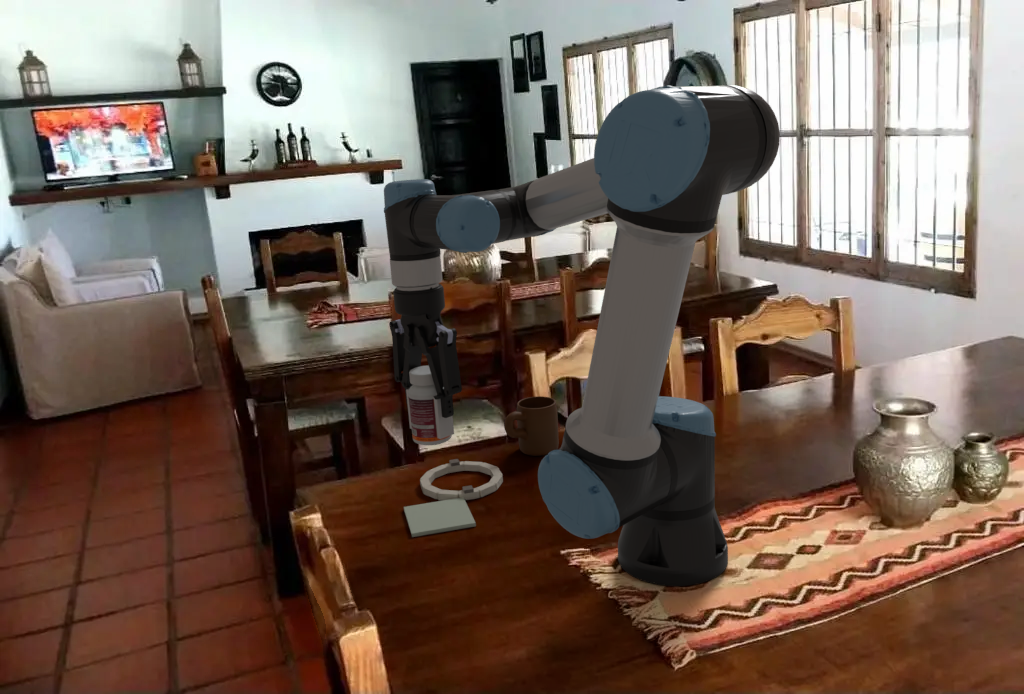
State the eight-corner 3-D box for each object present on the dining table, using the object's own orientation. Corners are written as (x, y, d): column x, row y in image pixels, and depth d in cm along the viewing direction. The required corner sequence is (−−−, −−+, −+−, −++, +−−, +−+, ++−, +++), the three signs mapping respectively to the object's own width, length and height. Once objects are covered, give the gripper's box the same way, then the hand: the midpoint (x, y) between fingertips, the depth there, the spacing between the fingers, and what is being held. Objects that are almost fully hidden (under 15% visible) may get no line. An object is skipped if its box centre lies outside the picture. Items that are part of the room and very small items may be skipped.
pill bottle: (444, 447, 132) (438, 376, 129) (406, 445, 133) (399, 375, 130) (457, 432, 137) (451, 364, 135) (420, 431, 139) (414, 364, 136)
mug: (522, 467, 156) (519, 418, 154) (493, 457, 162) (490, 410, 159) (567, 447, 164) (565, 400, 162) (538, 439, 170) (536, 393, 167)
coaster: (475, 526, 135) (475, 522, 135) (412, 537, 133) (411, 533, 133) (463, 500, 144) (463, 497, 144) (403, 510, 142) (403, 506, 142)
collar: (510, 492, 146) (509, 483, 146) (428, 506, 143) (427, 496, 143) (491, 462, 159) (491, 453, 159) (416, 474, 156) (415, 465, 156)
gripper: (479, 286, 125) (490, 437, 131) (399, 275, 138) (413, 412, 144) (438, 296, 120) (452, 452, 126) (360, 284, 134) (376, 425, 139)
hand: (431, 431), depth 135 cm, fingers closed on pill bottle, 6 cm apart
